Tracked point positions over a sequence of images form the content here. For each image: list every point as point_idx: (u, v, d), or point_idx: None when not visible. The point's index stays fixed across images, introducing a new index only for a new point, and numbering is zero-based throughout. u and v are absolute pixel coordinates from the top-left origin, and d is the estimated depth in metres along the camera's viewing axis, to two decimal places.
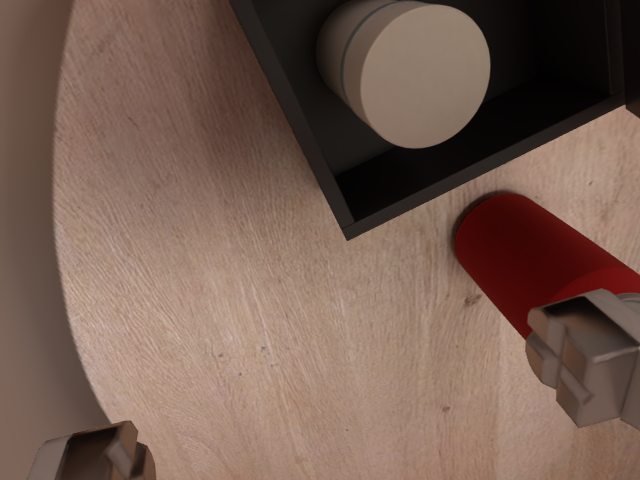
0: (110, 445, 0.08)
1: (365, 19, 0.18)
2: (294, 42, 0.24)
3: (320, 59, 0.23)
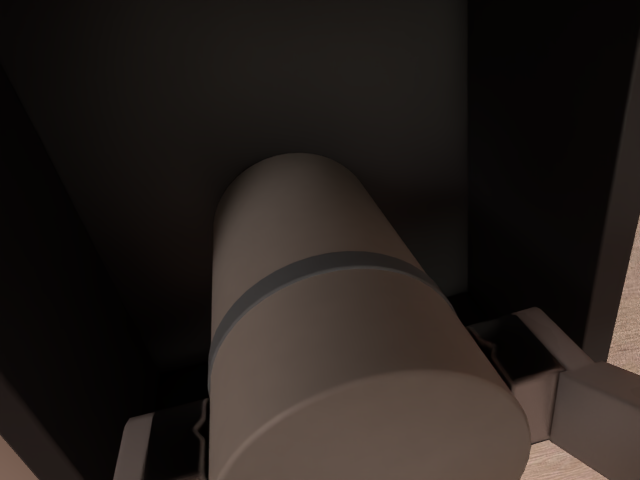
0: (198, 420, 0.08)
1: None
2: None
3: None
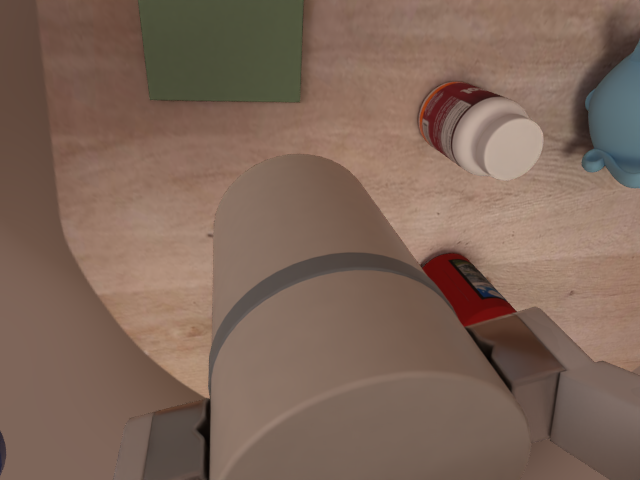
0: (198, 420, 0.08)
1: None
2: None
3: None
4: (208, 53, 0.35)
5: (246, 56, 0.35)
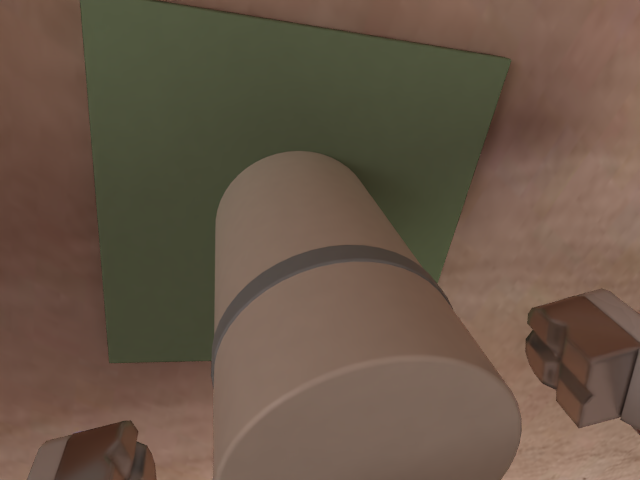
0: (110, 445, 0.08)
1: None
2: None
3: None
4: None
5: None
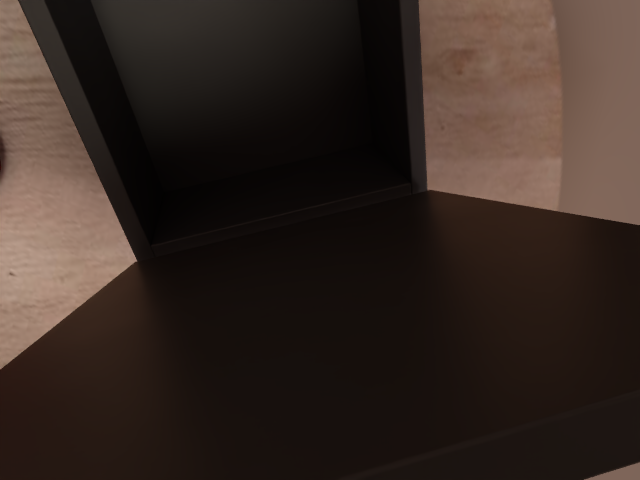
0: None
1: None
2: None
3: None
4: None
5: None
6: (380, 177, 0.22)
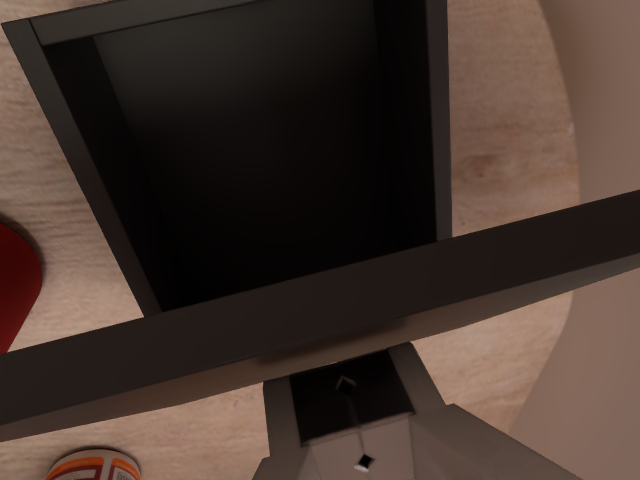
0: (337, 382, 0.08)
1: None
2: (286, 25, 0.20)
3: None
4: None
5: None
6: None
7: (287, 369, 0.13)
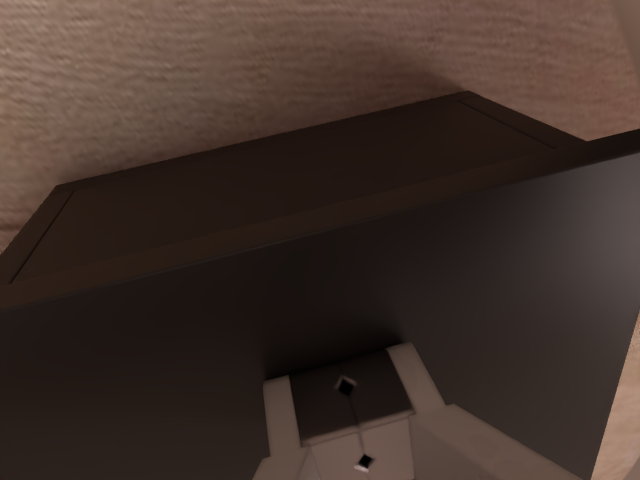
0: (338, 382, 0.08)
1: None
2: None
3: None
4: None
5: None
6: None
7: None
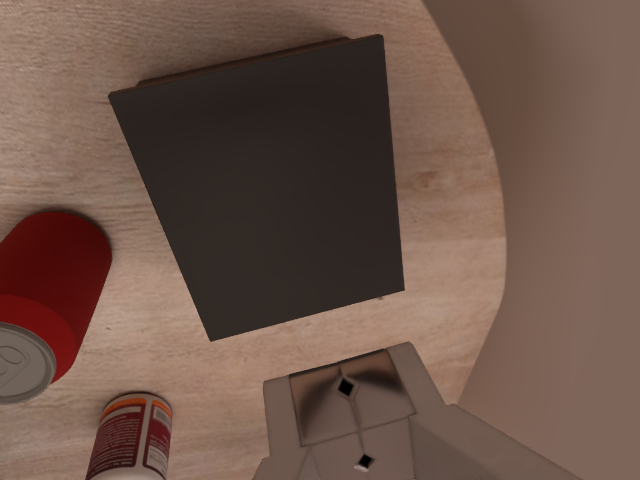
0: (338, 381, 0.08)
1: None
2: None
3: None
4: None
5: None
6: None
7: (262, 211, 0.26)
